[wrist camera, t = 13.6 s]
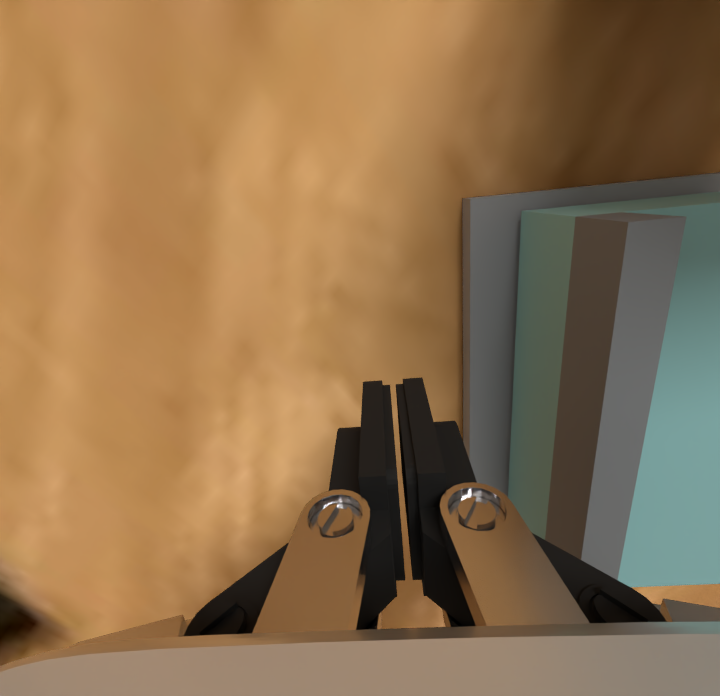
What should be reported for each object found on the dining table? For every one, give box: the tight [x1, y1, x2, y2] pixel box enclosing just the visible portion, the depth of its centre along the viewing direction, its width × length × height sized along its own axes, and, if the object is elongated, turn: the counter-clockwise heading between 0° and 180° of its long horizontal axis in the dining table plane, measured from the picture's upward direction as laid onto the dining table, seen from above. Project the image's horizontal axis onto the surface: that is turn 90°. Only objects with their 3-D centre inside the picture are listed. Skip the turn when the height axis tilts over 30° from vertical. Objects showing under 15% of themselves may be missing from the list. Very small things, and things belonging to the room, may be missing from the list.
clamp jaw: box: [508, 191, 720, 587], centre depth 12 cm, size 12×6×6 cm, turn 5°
